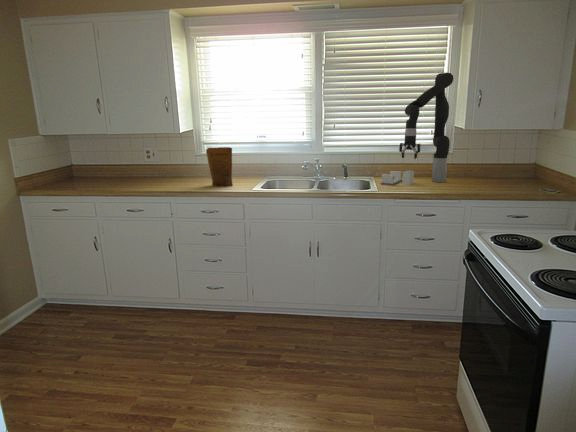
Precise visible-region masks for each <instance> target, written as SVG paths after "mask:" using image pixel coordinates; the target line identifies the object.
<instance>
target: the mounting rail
mask: <svg viewBox="0 0 576 432" xmlns="http://www.w3.org/2000/svg"><path fill="white" fill-rule="evenodd" d="M402 179H403V171H397V170H396V171H395V170H390V171H389V174H386V173H383V174H381V182H380V185H381V186H382V185H383V186H392V187H393V186H395V185H397V184H399V183H402Z"/></svg>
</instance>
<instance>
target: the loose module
mask: <svg viewBox="0 0 576 432" xmlns="http://www.w3.org/2000/svg"><path fill="white" fill-rule="evenodd" d="M402 173H403V176H402V182H401V184H402V186H411V185H412V184H414V181H415V180H414V179H415V178H414V176H415V170H412V169H411V170H409V169H408V170H405V171H402Z"/></svg>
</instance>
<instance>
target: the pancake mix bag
mask: <svg viewBox="0 0 576 432" xmlns="http://www.w3.org/2000/svg"><path fill="white" fill-rule="evenodd" d="M205 153H206V158H207V163H208V168H209V172H210V176H211V181H212V184H211V185H212V186H213V187H233V185H234V184H233V148H232V147H227V146H226V147H225V146H224V147H222V146H221V147H207V149H206V150H205Z"/></svg>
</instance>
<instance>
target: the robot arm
mask: <svg viewBox="0 0 576 432" xmlns="http://www.w3.org/2000/svg"><path fill="white" fill-rule="evenodd" d="M434 78H435V81H434V85H433V86H431V87H430V88H428V89H427V90H425V91H424V92H422V94H421V95H419V96H418V97H417V98H416V99H415V100H413V101H411V102H410V103H409V104H407V106H406V107H405V108H404V113H405V115H407V116H409V118H408V119H406V120H405V121H406V122H405V130H404V142H403V143H402V142H401V143H399V150H398V151H399V152H400V153H401V158H402V159H405V152H406V151H407V150H409V151H412V152H414V160H416V159H417V158H418V153H421V143H417V124H418V123H417V122H418V119H419V115H420V109H422V108H424V106H426V105H427V104H428V103H430V101H431V100H432V99H433V98H434V97H435V104H434V105H435V107H434V129H433V138H432V144H433V146H434V147H435V148H436V150H435V152H434V154H433V161H432V172H431V173H432V175H431V182H433V183H445V182H447V173H448V168H447V165H448V164H447V163H448V155H449V152H450V144H451V143H450V141H451V140H450V137H449V136H447V135H445V130H446V129H445V128H446V124H447V122H448V120H449V116H450V104H449V102H448V99H447V96H446V88H448V87H449V86H451V85H452V84H453V82H454V75H453V74H452V73H451V72H442V73H438V74H437V75H436V77H434ZM416 148H417V149H416Z"/></svg>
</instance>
